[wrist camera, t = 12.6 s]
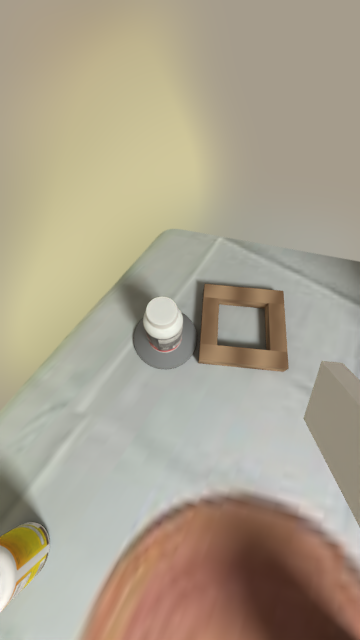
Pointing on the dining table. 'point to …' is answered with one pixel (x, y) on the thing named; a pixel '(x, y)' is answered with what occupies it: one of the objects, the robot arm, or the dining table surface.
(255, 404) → the dining table surface
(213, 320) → the pocket
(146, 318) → the pill bottle
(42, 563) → the supplement bottle
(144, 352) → the coaster
